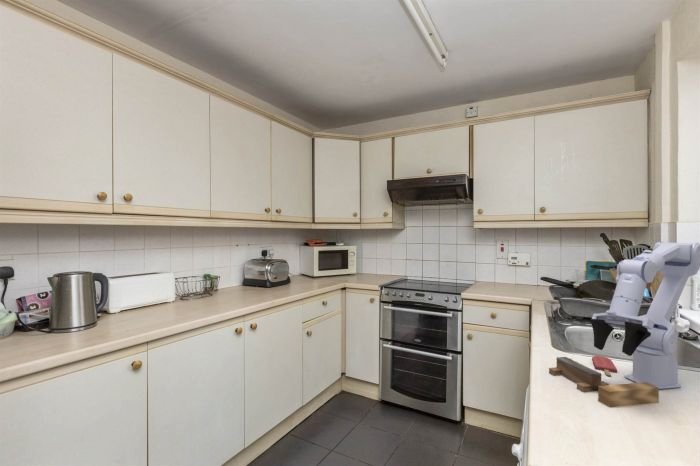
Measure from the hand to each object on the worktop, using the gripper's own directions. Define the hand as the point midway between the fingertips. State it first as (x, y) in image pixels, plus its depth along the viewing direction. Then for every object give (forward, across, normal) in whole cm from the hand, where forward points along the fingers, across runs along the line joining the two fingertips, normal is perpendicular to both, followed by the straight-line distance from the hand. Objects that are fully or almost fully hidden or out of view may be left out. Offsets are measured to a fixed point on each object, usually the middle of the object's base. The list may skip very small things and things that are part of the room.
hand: (611, 351), depth 84 cm
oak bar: (+10, 0, +8) cm, 13 cm away
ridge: (+9, -12, +5) cm, 16 cm away
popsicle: (+1, -18, +19) cm, 27 cm away
